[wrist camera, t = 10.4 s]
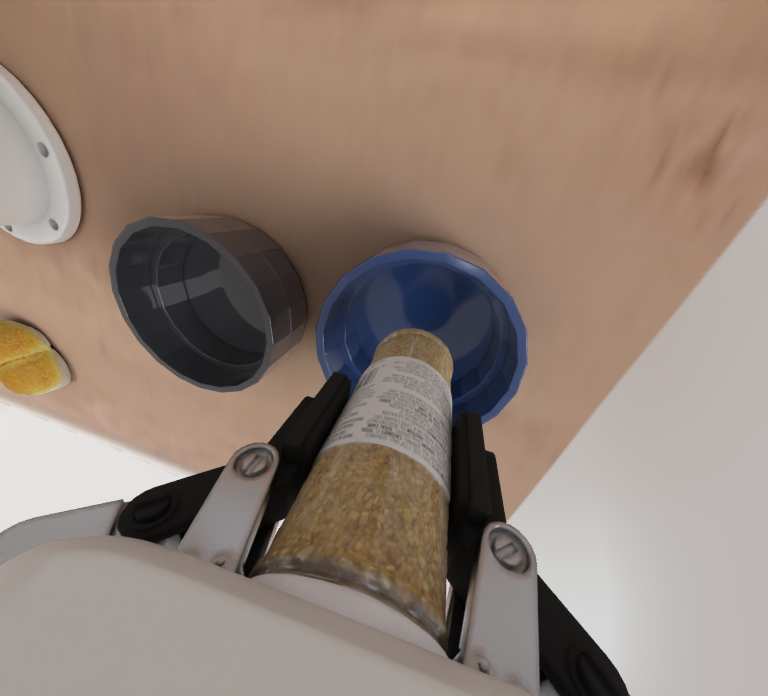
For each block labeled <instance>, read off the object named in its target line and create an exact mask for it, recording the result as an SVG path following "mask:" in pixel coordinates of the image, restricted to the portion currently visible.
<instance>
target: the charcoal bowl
mask: <svg viewBox="0 0 768 696" xmlns="http://www.w3.org/2000/svg"><path fill="white" fill-rule="evenodd" d="M109 270H110V278H111V285H112V291H113V294H114V297H115V299H116V302H117V304H118V307H119V309H120V312H121V314H122V317H123V318H124V320H125V321H126V323H127V325H128V326H129V328H130V329H131V331H132V332H133V334H134V335H135V337H136V338H137V340H138V341H139V342H140V344H141V345H142V346H143V347H144V348H145V349H146V350H147V351H148V352H149V353H150V354H151V355H152V356H153V357H154V359H155V360H156V361H158V362H159V363H160V364H161V365H163V366H164V367H165V368H167V369H168V370H169V371H171V372H172V373H173V374H175V375H176V376H177V377H179V378H181V379H183V380H185V381H187V382H189V383H191V384H193V385H195V386H197V387H200V388H203V389H208V390H212V391H217V392H234V391H242V390H244V389H246V388H248V387H250V386H252V385H254V384H255V383H257V382H259V381H260V380H261V379H262V378H263V377H264V376H265V375H267V374H268V373H269V372H270V371H271V370H272V369H273V368H275V367H276V366H277V365H278V364H279V363H280V362H281V361H283V360H284V359H285V358H286V357H287V356H288V355H289V354H291V352H292V351H293V350H294V349H295V347H296V346H297V345H298V343H299V342H300V341H301V339H302V335H303V331H304V328H305V324H306V304H305V295H304V293H303V290H302V287H301V284H300V281H299V279H298V276H297V273H296V271H295V270H294V268H293V267H292V265H291V264H290V262H289V261H288V259H287V258H286V256H285V255H284V253H283V252H282V250H281V249H280V248H279V247H278V246H277V245H276V244H275V243H274V242H273V241H272V240H270V239H269V238H268V237H267V236H266V235H265V234H264V233H262V232H261V231H260V230H259V229H257V228H255V227H253V226H251V225H249V224H247V223H245V222H243V221H240V220H238V219H236V218H233V217H223V216H213V215H205V216H150V217H147V218H144V219H141V220H139V221H136V222H133V223H131V224H128V225H127V226H126V227H125V228H124V230H123V231H122V232H121V233H120V235H119V236H118V237H117V239H116V240H115V241H114V243H113V247H112V253H111V258H110V263H109Z"/></svg>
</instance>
